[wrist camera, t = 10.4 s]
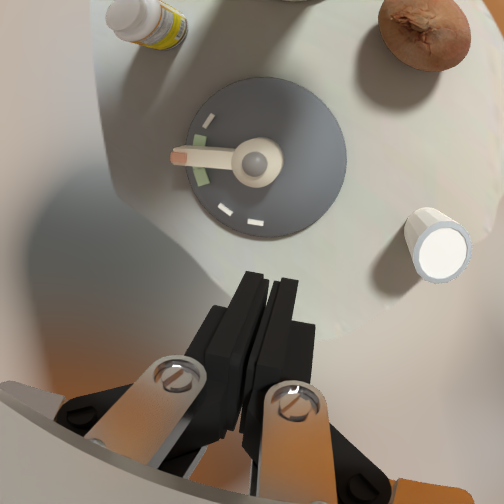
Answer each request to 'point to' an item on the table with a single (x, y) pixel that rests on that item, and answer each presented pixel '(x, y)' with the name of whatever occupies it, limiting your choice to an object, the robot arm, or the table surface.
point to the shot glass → (437, 245)
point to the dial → (294, 149)
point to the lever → (237, 160)
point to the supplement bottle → (147, 23)
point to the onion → (425, 32)
